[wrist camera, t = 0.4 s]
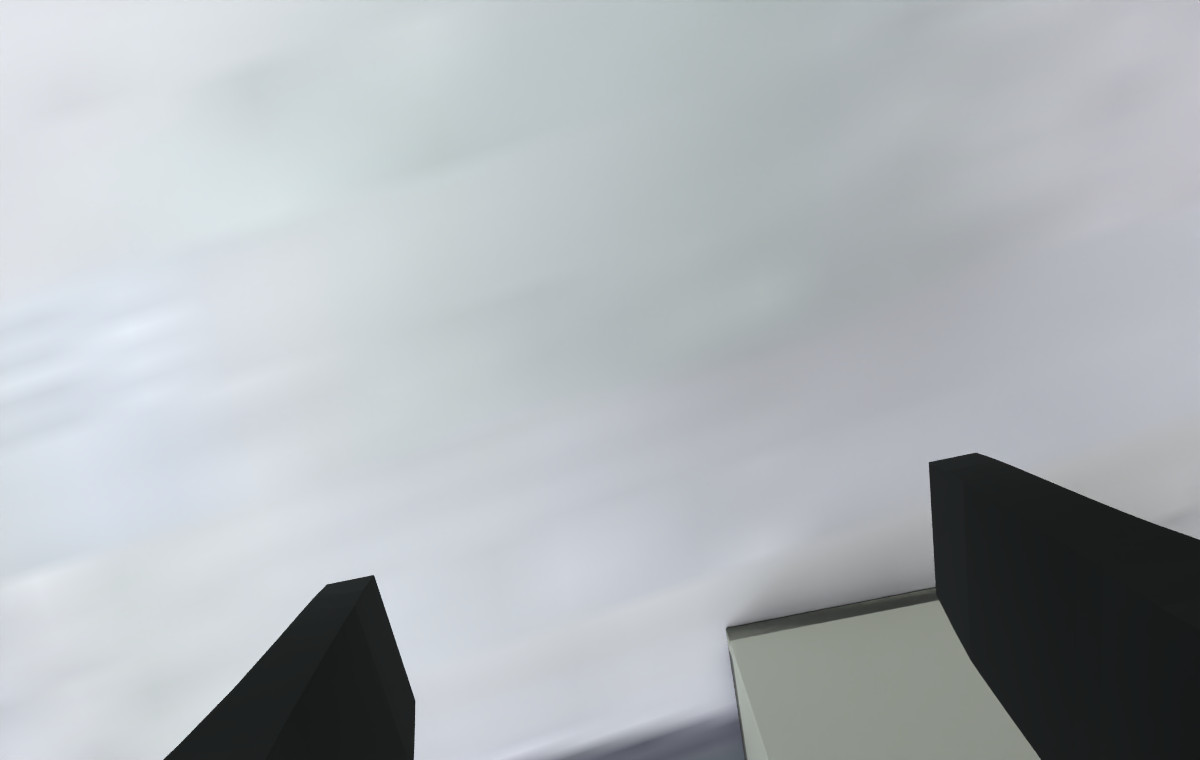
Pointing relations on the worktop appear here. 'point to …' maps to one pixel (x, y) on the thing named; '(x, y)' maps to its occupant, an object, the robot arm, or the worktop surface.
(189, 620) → the worktop surface
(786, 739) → the box
